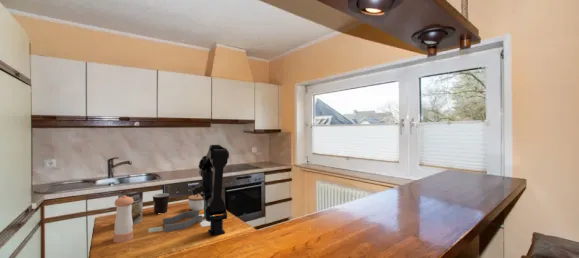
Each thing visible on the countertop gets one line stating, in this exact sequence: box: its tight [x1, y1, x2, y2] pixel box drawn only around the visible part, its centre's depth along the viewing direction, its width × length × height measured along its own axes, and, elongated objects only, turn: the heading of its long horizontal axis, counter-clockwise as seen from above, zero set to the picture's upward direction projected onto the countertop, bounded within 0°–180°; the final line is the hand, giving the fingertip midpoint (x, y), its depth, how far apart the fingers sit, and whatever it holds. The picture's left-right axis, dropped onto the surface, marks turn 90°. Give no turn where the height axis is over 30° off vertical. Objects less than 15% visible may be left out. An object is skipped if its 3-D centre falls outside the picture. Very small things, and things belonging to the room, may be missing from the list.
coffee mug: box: [152, 193, 170, 215], centre depth 143 cm, size 12×9×10 cm
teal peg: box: [203, 200, 213, 219], centre depth 137 cm, size 4×4×10 cm
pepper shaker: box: [112, 195, 134, 244], centre depth 108 cm, size 7×7×19 cm
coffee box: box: [117, 190, 144, 226], centre depth 126 cm, size 9×6×16 cm
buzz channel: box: [147, 210, 215, 234], centre depth 128 cm, size 19×32×4 cm, turn 119°
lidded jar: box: [187, 193, 204, 212], centre depth 151 cm, size 11×11×9 cm
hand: (207, 208), depth 137 cm, fingers open, 5 cm apart
